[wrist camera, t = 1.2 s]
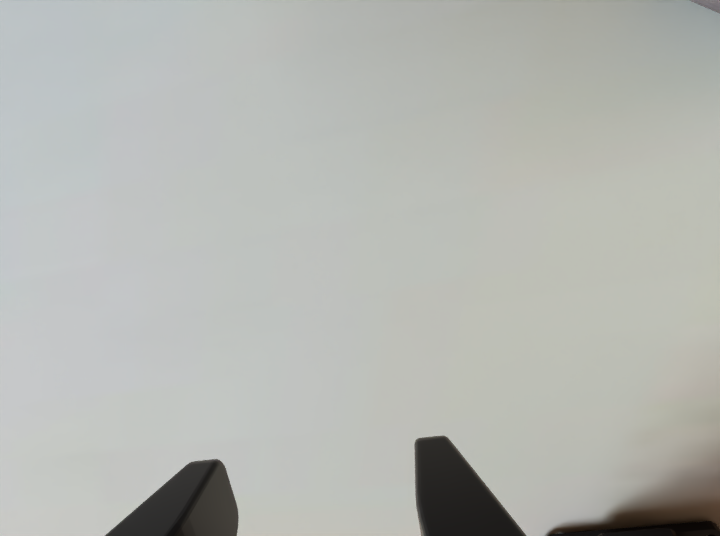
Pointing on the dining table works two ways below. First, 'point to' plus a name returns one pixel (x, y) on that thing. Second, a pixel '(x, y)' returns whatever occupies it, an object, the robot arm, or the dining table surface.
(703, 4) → the stone block
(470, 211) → the dining table surface
